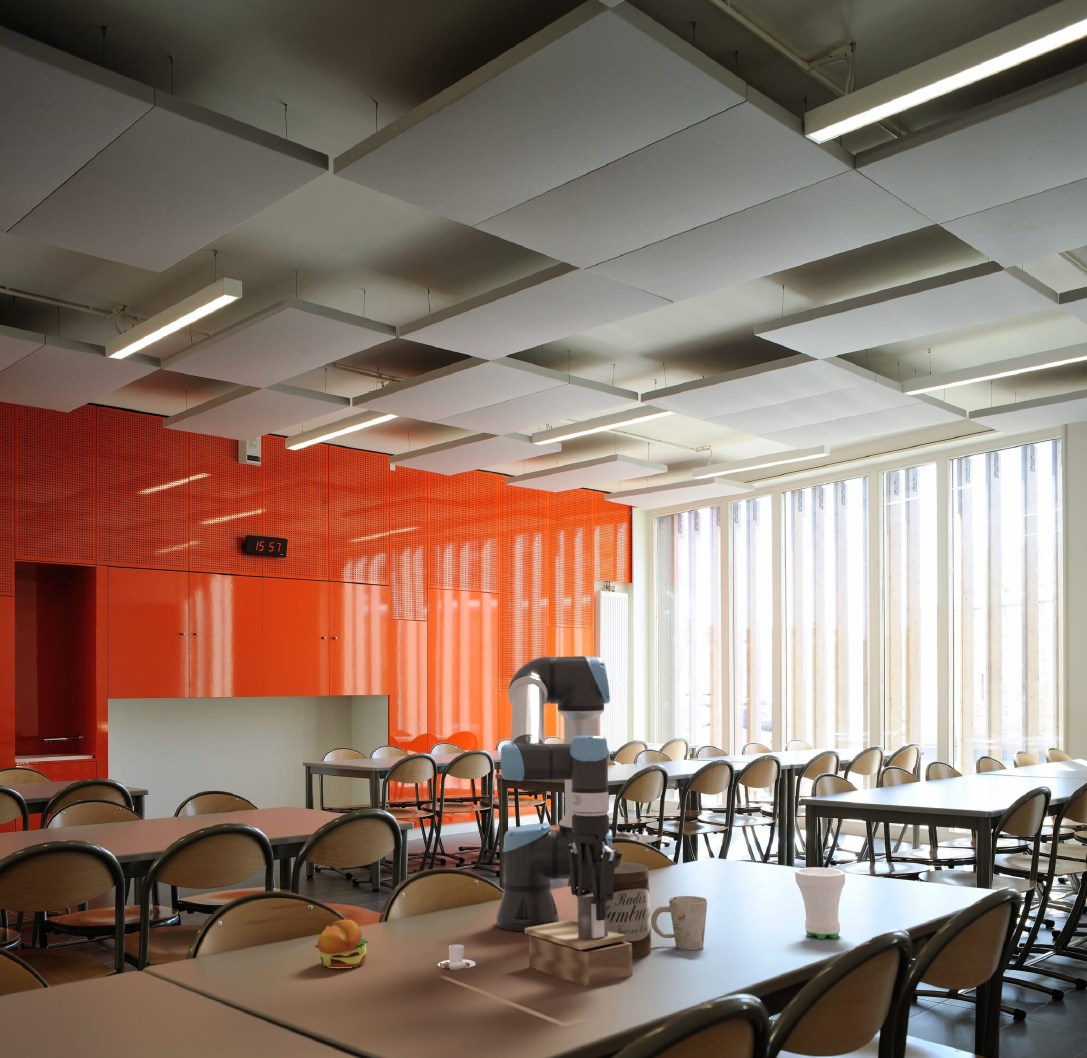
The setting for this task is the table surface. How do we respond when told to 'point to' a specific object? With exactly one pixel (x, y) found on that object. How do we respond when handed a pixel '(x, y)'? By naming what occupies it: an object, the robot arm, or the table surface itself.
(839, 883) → the cup
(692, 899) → the mug
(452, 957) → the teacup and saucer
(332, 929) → the cheeseburger
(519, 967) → the table surface
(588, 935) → the lid
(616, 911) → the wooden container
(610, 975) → the box
